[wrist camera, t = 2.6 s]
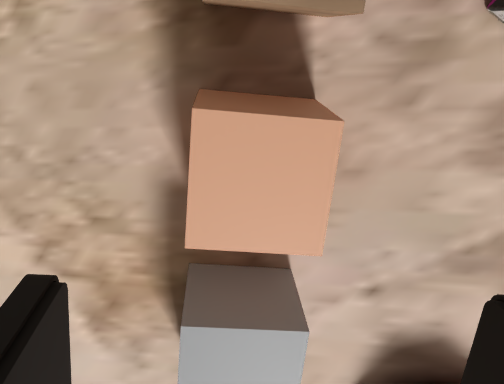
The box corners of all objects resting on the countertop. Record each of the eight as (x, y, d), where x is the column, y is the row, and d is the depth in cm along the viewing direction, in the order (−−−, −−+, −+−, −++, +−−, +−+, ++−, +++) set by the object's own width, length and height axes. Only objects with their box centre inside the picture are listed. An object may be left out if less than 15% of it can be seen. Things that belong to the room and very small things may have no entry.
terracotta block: (199, 88, 23) (192, 108, 17) (314, 99, 23) (344, 121, 18) (193, 198, 25) (184, 248, 19) (299, 205, 25) (321, 256, 20)
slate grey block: (189, 262, 26) (180, 326, 21) (290, 268, 27) (309, 331, 21) (184, 347, 28) (175, 426, 23) (278, 350, 29) (292, 429, 23)
